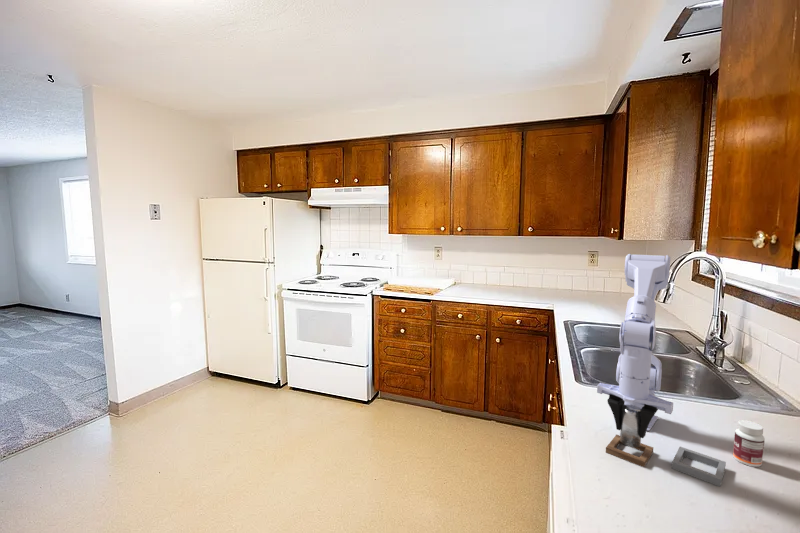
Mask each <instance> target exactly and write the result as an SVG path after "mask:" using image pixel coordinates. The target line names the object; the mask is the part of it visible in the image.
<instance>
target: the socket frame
mask: <svg viewBox="0 0 800 533" xmlns="http://www.w3.org/2000/svg"><path fill="white" fill-rule="evenodd" d="M620 445H624V444H623V443H622V442H621V441H620V434H615V436H614V437H612V439H611V441H610V442H609V443H608V444H607V445H606V447H605V453H606V454H609V455H611V456H614V457H616V458H618V459H621V460H624V461H627V462H629V463H631V464H635V465H637V466H640V467H642V468H645V467H646V465H647V464H648V462H649V460H650V458H651V457H652V455H653V453H654V447H653V446H649V445H648V444H644V443H641V444H640V447H631V448H632V449H635V450H638V451H639V452H642V453H641V455H640V456H638V455H634V454H632V453H629V452H627V451H624V450H621V449H619V448H618V446H620Z"/></svg>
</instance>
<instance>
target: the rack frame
mask: <svg viewBox="0 0 800 533" xmlns="http://www.w3.org/2000/svg"><path fill="white" fill-rule="evenodd" d="M684 457H685V458H688V459H689V460H692V461H695V462H698V463H702V464H705V465H707V466H710V467H713V468H715V469H716V472H715V474H713V473H711V472H707V471H705V470H702V469H700V468H696V467H694V466H691V465H688V464H686V463H683V462H682V461H683V459H684ZM726 463H727V462H726V461H724V460H721V459H718V458H716V457H712V456H709V455H708V454H707V455H706V454H703V453H700V452H697V451H695V450H691V449H689V448H686V447H682V446H679V447H678V449H677V451H676V454H675V455H674V458H673V459H672V462H671V469H672V470H675V471H677V472H679V473H683V474H686V475H688V476H691V477H693V478H695V479H699V480H702V481H704V482H707V483H710V484H712V485H715V486H717V487H721V485H722V482H723V479H724V475H725V471H726V465H727V464H726Z"/></svg>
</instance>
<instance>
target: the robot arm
mask: <svg viewBox="0 0 800 533" xmlns="http://www.w3.org/2000/svg"><path fill="white" fill-rule="evenodd" d="M670 268H671V256H669V254H666V255H659V254H658V255H657V254H656V255H655V254H653V255H651V254H631V253H628V254H626V256H625V260H624V276H625V282H626V285H627V286H628V287H630V288H632V289H633V292H634V293H633V296H632V297H630V298H629V299H627V302H626V307H625V315H624V321H621V324H620V327H619V337H618V338H619V345H620V346H619V353H620V354H619V356H618V360H617V361H618V362H617V365H616V373H615V381H616V382H617V383H618V385H614V384H607V383H603V382H599V383H598V384H597V386H596V393H597V394H600V395H602V394H604V395H607V396H608V398H607V401H606V402H607V404H608V406H609V408H610V410H611V413H612V414H613V415H612V416H613V418H614V422H615V428H616V430H618V431H621V416H622V406H623V405H634V406H637V407H639V408H641V410H640V413H641V427H640V433H639V436H640V438H641V439H644V438H645V437H646V435H647V432H650V431H651V429H652V428H653V427H654V425H655V424H656V422H657V420H658V419H659V417H658V416H657V415H656V413H657V412H658V411H663V412H664V413H666V414H669V415H672V413H673V411H674V402H672V401H669V400H666V399H663V398H661V397H658V396H657V395H656V393H655V392H657V393H658V392H659V391H661V385H662V372H663V370H662V364H663V363H662V361H661V360H660V358H658V357H657V356H656V355H654V353H653V350H654V348H655V345H656V332H657V328H656V312H657V310H656V309H657V304H656V302H655V299H656V297H657V294H658V292H659V291H661V290H664V289H667V286H668V285H669V279H670Z"/></svg>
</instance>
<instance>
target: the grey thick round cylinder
mask: <svg viewBox="0 0 800 533" xmlns="http://www.w3.org/2000/svg"><path fill="white" fill-rule="evenodd" d="M640 410H641V408H639V407H637V406H634V405H623V406H622V416H621V429H620V430H619V431H620V432H619V436H620V441H621V442H622V443H623V444H622V445H623V446H624V445H625V446H627V447H629V448H632V447H640V444H641V442H642V438H640V436H639V433H640V427H641V413H640Z"/></svg>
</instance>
